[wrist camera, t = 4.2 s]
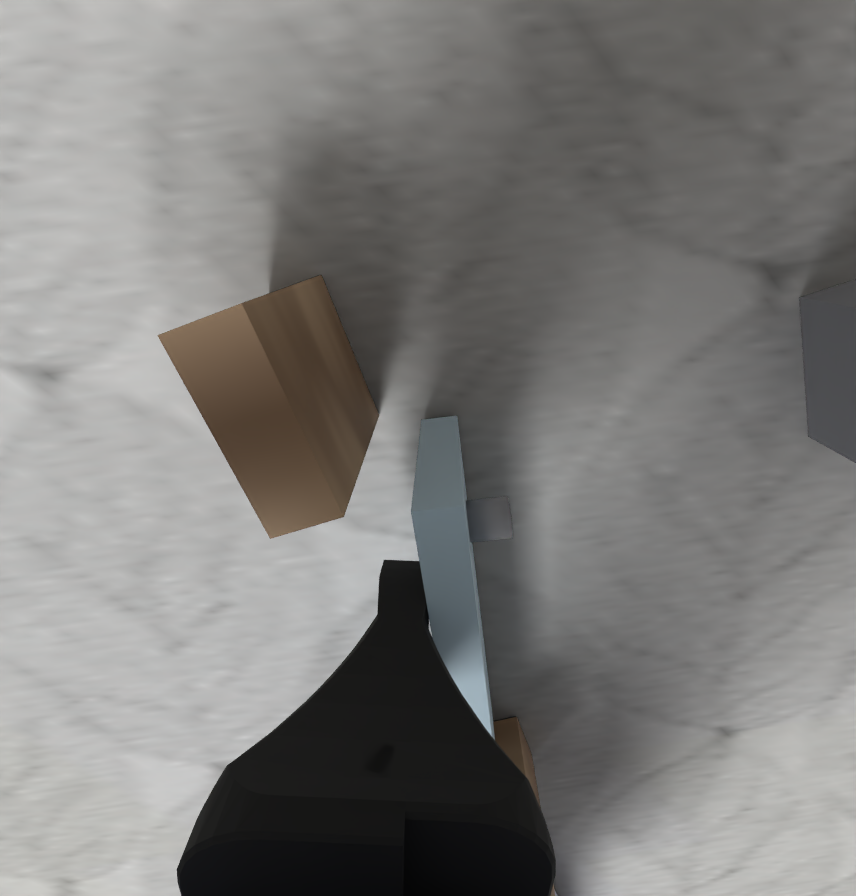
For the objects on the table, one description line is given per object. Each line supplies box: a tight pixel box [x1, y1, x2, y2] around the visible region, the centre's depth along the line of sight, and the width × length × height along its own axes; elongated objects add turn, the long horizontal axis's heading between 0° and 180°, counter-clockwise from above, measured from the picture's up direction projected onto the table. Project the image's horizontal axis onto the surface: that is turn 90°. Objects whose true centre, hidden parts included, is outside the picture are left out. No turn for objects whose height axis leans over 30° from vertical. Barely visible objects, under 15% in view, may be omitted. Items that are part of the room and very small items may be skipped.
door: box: [411, 416, 513, 740], centre depth 14 cm, size 12×2×5 cm, turn 8°
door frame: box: [158, 275, 556, 896], centre depth 14 cm, size 19×2×6 cm, turn 19°
